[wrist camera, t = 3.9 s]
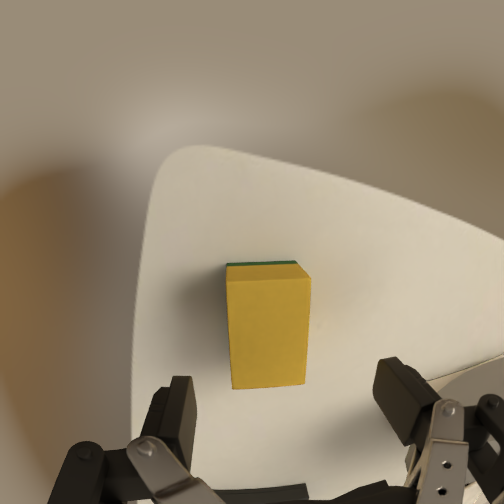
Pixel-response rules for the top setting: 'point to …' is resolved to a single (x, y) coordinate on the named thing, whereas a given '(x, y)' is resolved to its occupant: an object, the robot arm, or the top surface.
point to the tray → (264, 495)
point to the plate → (471, 493)
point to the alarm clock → (470, 392)
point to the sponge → (267, 323)
